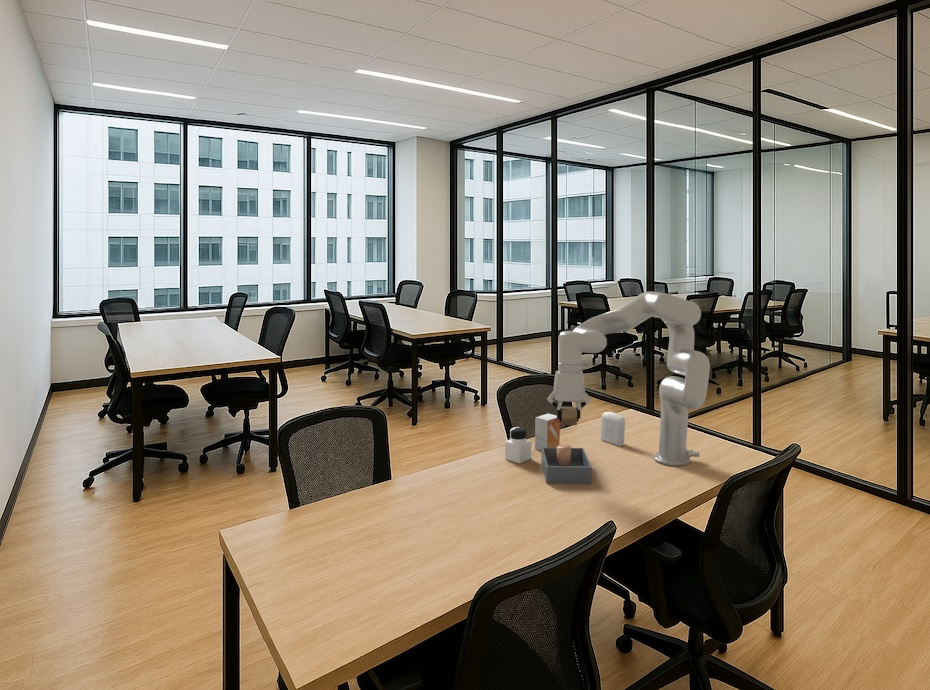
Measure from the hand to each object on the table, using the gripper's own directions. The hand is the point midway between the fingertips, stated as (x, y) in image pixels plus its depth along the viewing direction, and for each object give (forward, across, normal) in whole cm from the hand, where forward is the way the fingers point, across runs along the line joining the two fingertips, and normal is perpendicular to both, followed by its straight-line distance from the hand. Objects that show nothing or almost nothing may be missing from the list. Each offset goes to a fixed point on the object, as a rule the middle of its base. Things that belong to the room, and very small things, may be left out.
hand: (568, 419), depth 205 cm
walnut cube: (+1, 0, 0) cm, 1 cm away
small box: (+21, +4, -30) cm, 37 cm away
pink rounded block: (+20, 0, -10) cm, 22 cm away
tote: (+21, 0, -5) cm, 21 cm away
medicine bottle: (+21, +16, -18) cm, 32 cm away
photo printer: (+21, -23, -38) cm, 49 cm away
